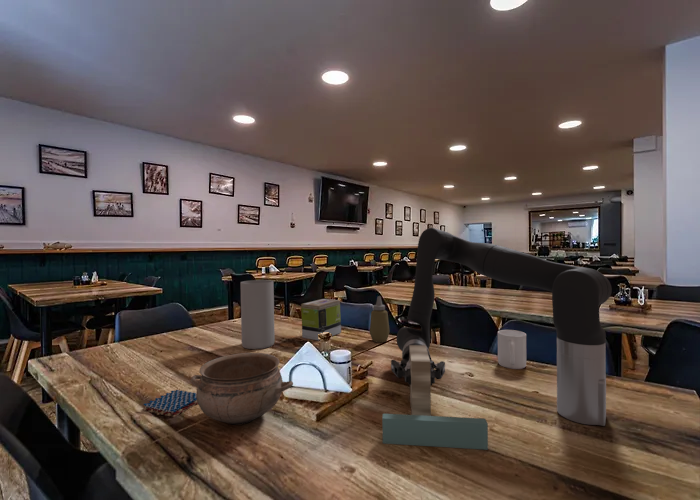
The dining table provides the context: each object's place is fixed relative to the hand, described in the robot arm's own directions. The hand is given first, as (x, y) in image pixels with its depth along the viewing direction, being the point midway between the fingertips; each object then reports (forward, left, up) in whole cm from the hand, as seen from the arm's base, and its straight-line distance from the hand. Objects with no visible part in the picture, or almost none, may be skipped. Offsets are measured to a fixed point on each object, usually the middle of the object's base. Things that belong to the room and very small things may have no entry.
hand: (420, 380), depth 80 cm
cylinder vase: (+77, -15, -9) cm, 79 cm away
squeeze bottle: (+41, -47, -9) cm, 64 cm away
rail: (-7, +8, -9) cm, 13 cm away
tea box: (+66, -40, -9) cm, 78 cm away
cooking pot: (+33, +24, -9) cm, 42 cm away
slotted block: (+1, -2, -9) cm, 9 cm away
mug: (-9, -46, -9) cm, 48 cm away
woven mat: (+52, +30, -9) cm, 61 cm away
